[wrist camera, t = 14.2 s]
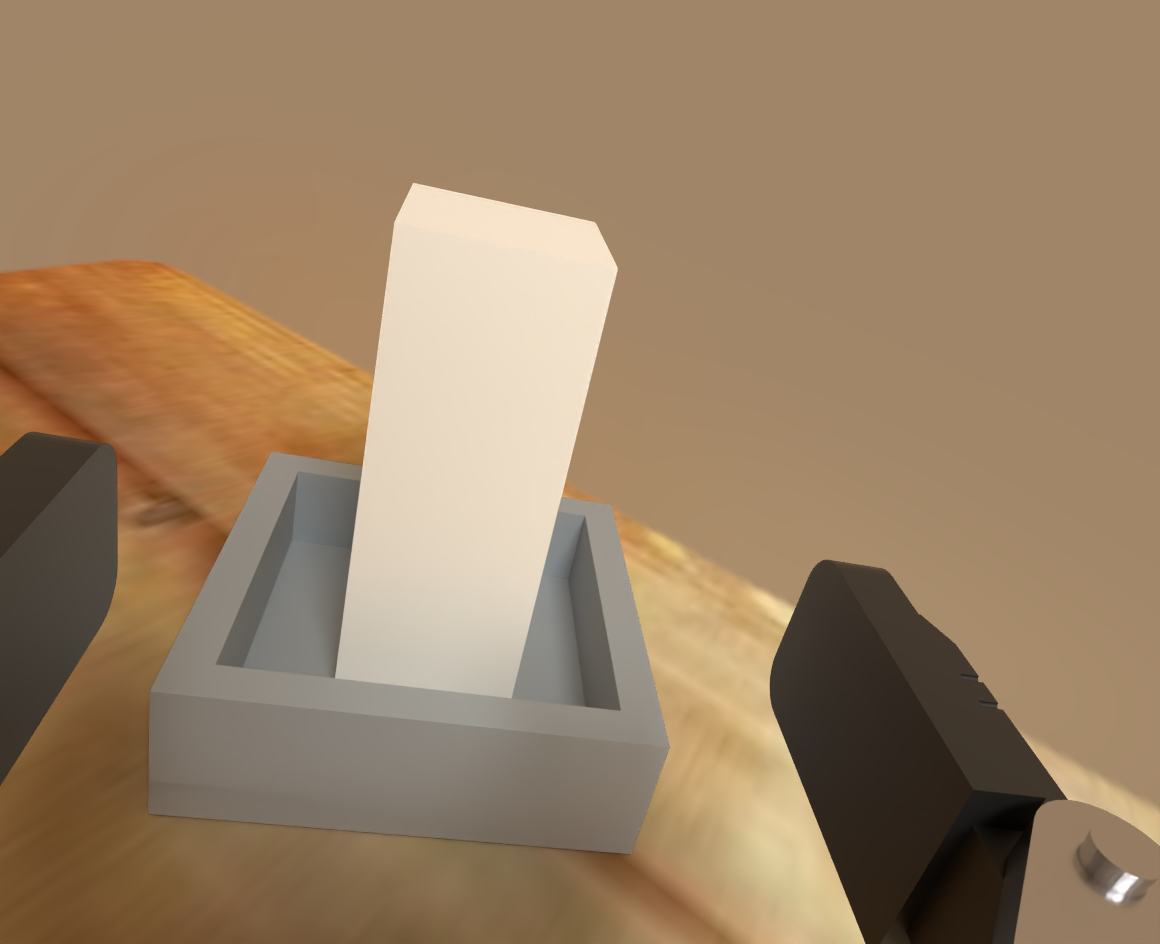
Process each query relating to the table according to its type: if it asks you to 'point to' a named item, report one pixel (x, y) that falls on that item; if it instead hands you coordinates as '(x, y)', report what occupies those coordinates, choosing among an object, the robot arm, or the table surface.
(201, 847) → the table surface
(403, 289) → the cream block
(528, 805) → the tray
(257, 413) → the table surface
